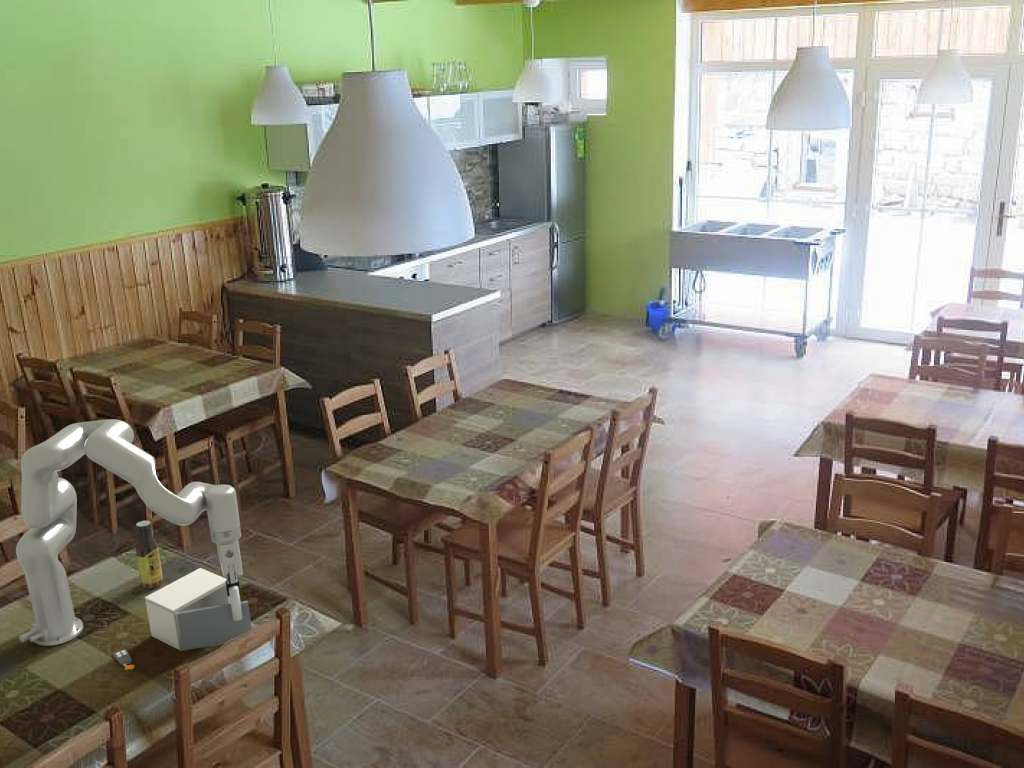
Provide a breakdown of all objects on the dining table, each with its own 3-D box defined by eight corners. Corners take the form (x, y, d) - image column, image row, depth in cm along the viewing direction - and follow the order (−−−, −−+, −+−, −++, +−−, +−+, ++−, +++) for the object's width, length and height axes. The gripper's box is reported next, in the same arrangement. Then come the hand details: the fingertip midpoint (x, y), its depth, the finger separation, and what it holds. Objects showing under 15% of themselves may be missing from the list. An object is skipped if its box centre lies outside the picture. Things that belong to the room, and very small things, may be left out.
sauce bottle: (156, 590, 281) (145, 530, 275) (137, 588, 282) (126, 528, 276) (168, 579, 287) (158, 519, 281) (149, 577, 289) (138, 518, 282)
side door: (179, 656, 249) (170, 601, 244) (179, 648, 252) (170, 594, 247) (252, 643, 254) (245, 588, 248) (252, 636, 257) (245, 582, 252)
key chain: (112, 657, 251) (111, 653, 251) (126, 652, 253) (125, 647, 253) (129, 680, 242) (128, 675, 241) (143, 674, 244) (142, 669, 243)
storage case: (179, 650, 253) (173, 610, 249) (151, 635, 259) (144, 597, 255) (233, 617, 267) (228, 579, 263) (205, 604, 273) (200, 567, 269)
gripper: (244, 542, 242) (252, 605, 248) (237, 517, 255) (244, 577, 261) (213, 548, 239) (221, 611, 245) (207, 522, 253) (216, 583, 259)
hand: (233, 594), depth 253 cm, fingers closed
